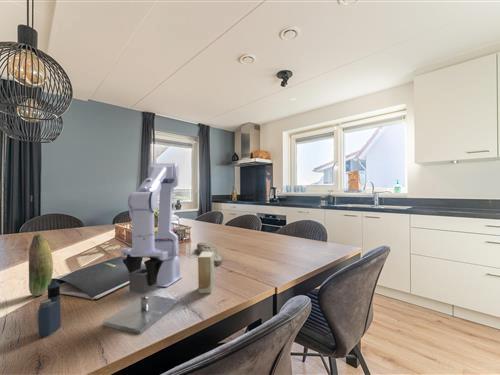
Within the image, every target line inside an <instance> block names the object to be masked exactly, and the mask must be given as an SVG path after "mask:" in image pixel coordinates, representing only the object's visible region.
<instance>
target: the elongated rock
mask: <svg viewBox="0 0 500 375" xmlns="http://www.w3.org/2000/svg"><path fill="white" fill-rule="evenodd" d="M196 249H197V251H198V253H199V255H200V254H201V253H202V252H214V267H216V266H217V267H218V266H221V265H222V263H223V257H222V255H221V254H220V253H219V252H220V251H219V250H218V248H217V247H216V246H215V245H213V244H211V243H208V242H199V243H197V244H196Z"/></svg>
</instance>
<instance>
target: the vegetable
mask: <svg viewBox="0 0 500 375" xmlns="http://www.w3.org/2000/svg"><path fill="white" fill-rule="evenodd" d="M53 260H54V259H53V255H52V250H51V247H50V245H49V242H48V241H47V240H46V239H45V238H44V236H43V235H42V234H35V235H34V236H33V238H32V240H31V244H30V246H29V251H28V289H29V293H30V294H31V295H32V296H35V297H39V296H42V295H43V294H44V293H46V292H47V291H48V285H49V284H51V281H52V278H53V272H54V261H53Z"/></svg>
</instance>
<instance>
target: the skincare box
mask: <svg viewBox="0 0 500 375" xmlns="http://www.w3.org/2000/svg"><path fill="white" fill-rule="evenodd" d="M197 266H198V268H197V271H198V272H197V273H198V277H197V280H198V281H197V282H198V286H197V287H198V290H197V291H198V294H211V293H212V292H213V290H214V286H215V269H214V268H215V266H214V252H202V253H201V254H200V253H199V255H198V257H197Z"/></svg>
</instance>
